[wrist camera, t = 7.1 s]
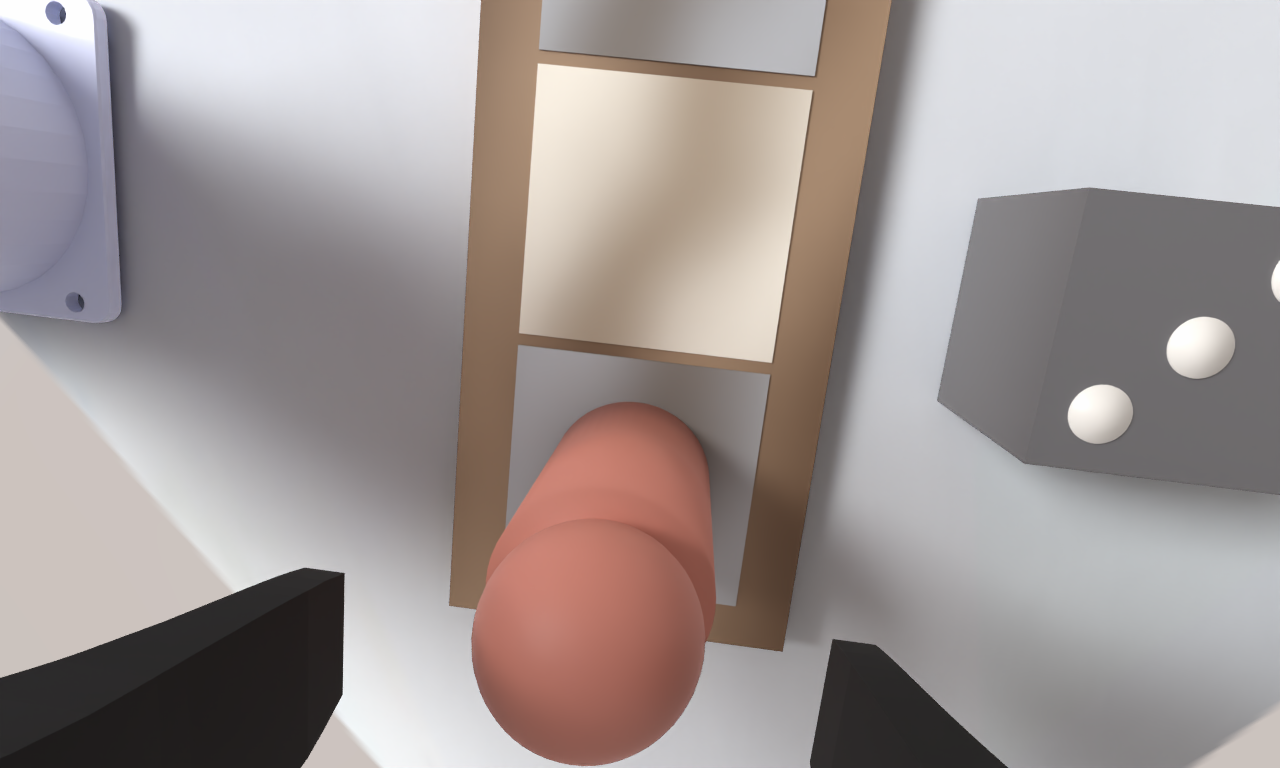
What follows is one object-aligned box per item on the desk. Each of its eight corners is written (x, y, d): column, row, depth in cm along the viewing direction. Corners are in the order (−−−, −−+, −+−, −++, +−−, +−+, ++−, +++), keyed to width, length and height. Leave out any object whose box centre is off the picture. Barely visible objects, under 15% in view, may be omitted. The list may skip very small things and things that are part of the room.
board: (460, 587, 20) (448, 607, 19) (533, -692, 14) (520, -763, 13) (778, 630, 20) (782, 652, 19) (993, -672, 14) (1016, -743, 13)
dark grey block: (937, 400, 18) (1025, 464, 13) (978, 198, 17) (1091, 187, 12) (1139, 424, 18) (1305, 498, 13) (1193, 221, 17) (1397, 218, 12)
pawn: (546, 541, 19) (417, 816, 10) (557, 392, 18) (426, 553, 9) (699, 560, 19) (702, 858, 10) (718, 411, 18) (741, 592, 9)
